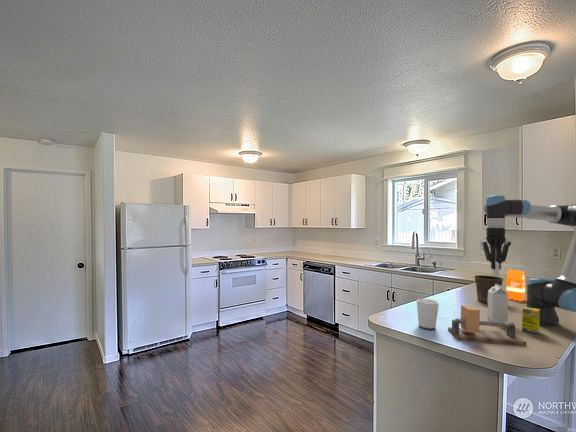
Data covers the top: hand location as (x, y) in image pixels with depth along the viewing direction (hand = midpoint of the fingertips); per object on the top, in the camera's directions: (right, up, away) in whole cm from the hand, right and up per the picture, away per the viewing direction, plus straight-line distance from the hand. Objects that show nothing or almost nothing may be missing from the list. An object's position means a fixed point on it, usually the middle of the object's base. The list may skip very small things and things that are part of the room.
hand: (496, 276), depth 149 cm
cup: (-33, -25, +1) cm, 42 cm away
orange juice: (+56, -29, +63) cm, 89 cm away
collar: (-19, -22, -10) cm, 31 cm away
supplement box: (+16, -27, -1) cm, 31 cm away
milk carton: (+10, -27, +14) cm, 32 cm away
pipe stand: (-12, -26, -11) cm, 30 cm away
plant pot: (+32, -28, +54) cm, 69 cm away
